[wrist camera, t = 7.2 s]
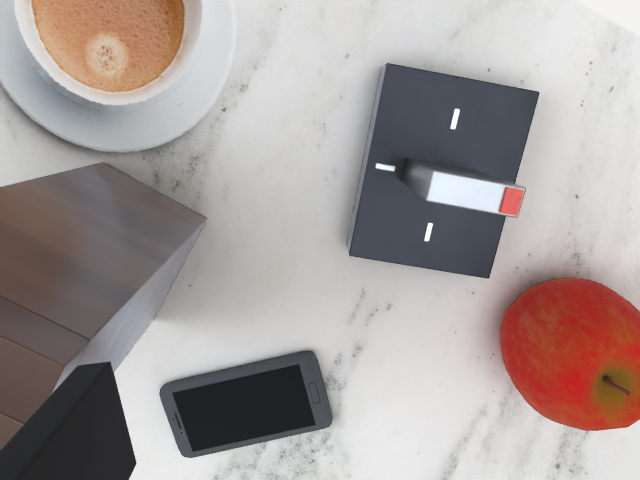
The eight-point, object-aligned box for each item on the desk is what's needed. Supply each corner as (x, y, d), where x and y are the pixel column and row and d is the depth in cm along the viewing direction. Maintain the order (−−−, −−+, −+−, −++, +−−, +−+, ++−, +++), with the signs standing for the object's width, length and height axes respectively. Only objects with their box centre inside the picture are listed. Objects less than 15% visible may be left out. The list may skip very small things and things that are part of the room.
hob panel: (380, 66, 37) (387, 62, 34) (522, 93, 38) (541, 91, 35) (345, 245, 41) (348, 256, 38) (476, 267, 41) (490, 279, 38)
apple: (532, 405, 45) (598, 494, 34) (461, 319, 43) (509, 386, 32) (636, 333, 43) (738, 403, 33) (567, 240, 41) (654, 283, 31)
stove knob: (401, 182, 36) (427, 201, 28) (407, 157, 36) (434, 170, 28) (474, 195, 37) (519, 219, 29) (480, 171, 36) (528, 188, 28)
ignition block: (103, 161, 39) (-209, 236, 15) (207, 218, 40) (65, 366, 17) (52, 269, 41) (-290, 477, 18) (153, 319, 42) (-41, 577, 19)
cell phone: (334, 421, 45) (334, 426, 44) (183, 455, 45) (181, 460, 44) (314, 348, 43) (314, 352, 42) (158, 384, 43) (155, 388, 43)
